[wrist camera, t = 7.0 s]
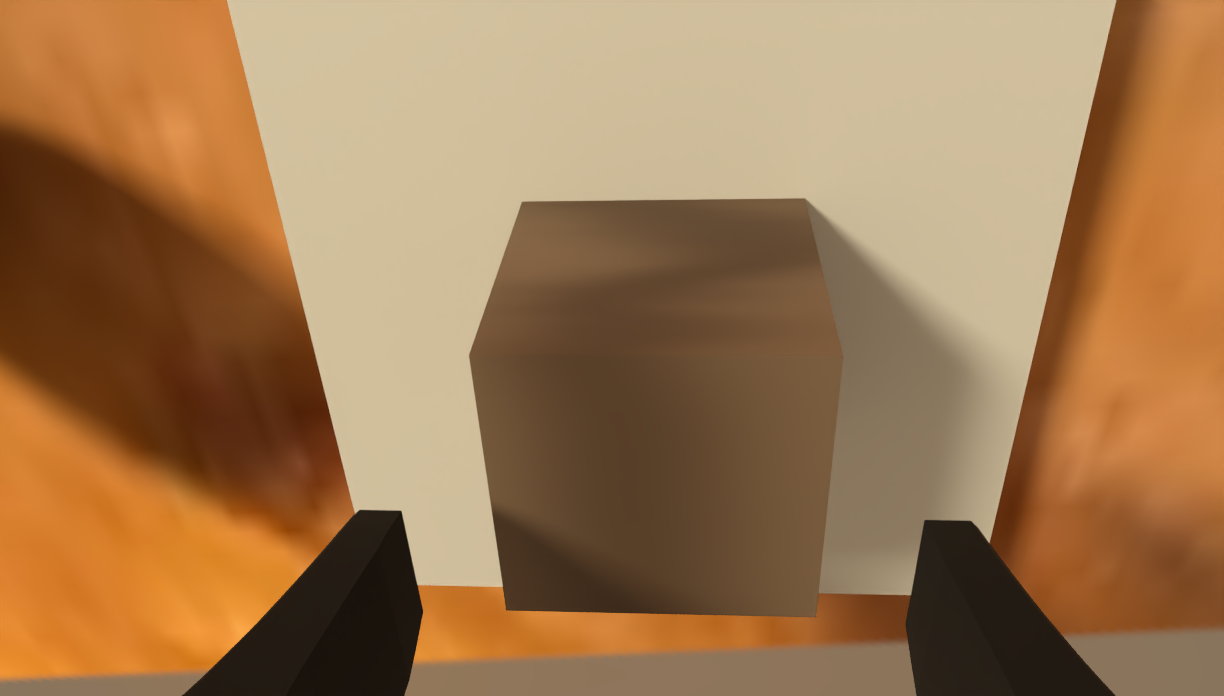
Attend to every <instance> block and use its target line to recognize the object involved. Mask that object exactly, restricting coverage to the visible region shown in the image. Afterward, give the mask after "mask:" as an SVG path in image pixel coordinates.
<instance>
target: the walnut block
mask: <svg viewBox="0 0 1224 696" xmlns="http://www.w3.org/2000/svg"><path fill="white" fill-rule="evenodd" d="M469 360H470V366H471V373H472V380H473V387H474V394H475V400H476V407H477V414H478V421H479V428H480V434H481V441H482V448H483V455H484V462H485V468H486V475H487V482H488V489H489V496H490V502H491V509H492V516H493V523H494V530H495V536H496V543H497V550H498V557H499V564H500V570H501V577H502V584H503V591H504V598H505V604H506V610H513V611H558V612H604V613H649V614H694V615H739V616H785V617H816V612H817V602H818V593H819V583H820V574H821V564H822V555H823V545H824V536H825V526H826V516H827V507H828V497H829V488H830V478H831V469H832V459H833V450H834V440H835V431H836V421H837V411H838V402H839V392H840V383H841V373H842V364H843V352H842V348H841V344H840V340H839V336H838V332H837V328H836V323H835V319H834V315H833V311H832V307H831V303H830V299H829V295H828V291H827V287H826V282H825V278H824V274H823V270H822V266H821V262H820V258H819V254H818V250H817V245H816V241H815V237H814V233H813V229H812V225H811V221H810V217H809V213H808V209H807V204H806V200H805V198H785V199H699V200H613V201H526V202H522V203H521V206H520V209H519V212H518V215H517V218H516V220H515V223H514V226H513V229H512V232H511V235H510V238H509V241H508V244H507V246H506V249H505V252H504V255H503V258H502V261H501V264H500V267H499V270H498V273H497V275H496V278H495V281H494V284H493V287H492V290H491V293H490V296H489V299H488V301H487V304H486V307H485V310H484V313H483V316H482V319H481V322H480V325H479V327H478V330H477V333H476V336H475V339H474V342H473V345H472V348H471V351H470V353H469Z"/></svg>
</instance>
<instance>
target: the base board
mask: <svg viewBox="0 0 1224 696" xmlns="http://www.w3.org/2000/svg"><path fill="white" fill-rule="evenodd" d="M227 2H228V6H229V10H230V14H231V18H232V22H233V26H234V31H235V35H236V39H237V43H238V47H239V51H240V55H241V59H242V63H243V67H244V71H245V75H246V79H247V83H248V87H249V91H250V95H251V99H252V103H253V107H254V111H255V115H256V119H257V123H258V127H259V131H260V135H261V139H262V143H263V147H264V151H265V155H266V159H267V163H268V167H269V171H270V175H271V179H272V183H273V187H274V191H275V195H276V199H277V203H278V207H279V211H280V215H281V219H282V223H283V227H284V231H285V235H286V239H287V243H288V247H289V251H290V255H291V259H292V263H293V267H294V271H295V275H296V279H297V283H298V287H299V291H300V295H301V299H302V303H303V307H304V311H305V315H306V319H307V323H308V327H309V331H310V335H311V339H312V343H313V347H314V351H315V355H316V359H317V364H318V368H319V372H320V376H321V380H322V384H323V388H324V392H325V396H326V400H327V404H328V408H329V412H330V416H331V420H332V424H333V428H334V432H335V436H336V440H337V444H338V448H339V452H340V456H341V460H342V464H343V468H344V472H345V476H346V480H347V484H348V488H349V492H350V496H351V500H352V504H353V508H354V512H355V514H356V513H357V512H358V511H359V510H398V511H402V515H403V520H404V525H405V530H406V534H407V539H408V544H409V548H410V553H411V558H412V562H413V567H414V572H415V576H416V581H417V585H441V586H489V587H503V584H502V577H501V570H500V564H499V557H498V550H497V543H496V536H495V530H494V523H493V516H492V509H491V502H490V496H489V489H488V482H487V475H486V468H485V462H484V455H483V448H482V441H481V434H480V428H479V421H478V414H477V407H476V400H475V394H474V387H473V380H472V373H471V366H470V360H469V353H470V351H471V348H472V345H473V342H474V339H475V336H476V333H477V330H478V327H479V325H480V322H481V319H482V316H483V313H484V310H485V307H486V304H487V301H488V299H489V296H490V293H491V290H492V287H493V284H494V281H495V278H496V275H497V273H498V270H499V267H500V264H501V261H502V258H503V255H504V252H505V249H506V246H507V244H508V241H509V238H510V235H511V232H512V229H513V226H514V223H515V220H516V218H517V215H518V212H519V209H520V206H521V203H522V202H526V201H613V200H699V199H785V198H805V200H806V204H807V209H808V213H809V217H810V221H811V225H812V229H813V233H814V237H815V241H816V245H817V250H818V254H819V258H820V262H821V266H822V270H823V274H824V278H825V282H826V287H827V291H828V295H829V299H830V303H831V307H832V311H833V315H834V319H835V323H836V328H837V332H838V336H839V340H840V344H841V348H842V352H843V364H842V373H841V383H840V392H839V402H838V411H837V421H836V431H835V440H834V450H833V459H832V469H831V478H830V488H829V497H828V507H827V516H826V526H825V536H824V545H823V555H822V564H821V574H820V583H819V593H826V594H874V595H911V592H912V586H913V581H914V575H915V570H916V564H917V559H918V553H919V548H920V542H921V537H922V531H923V525H924V520H961V521H972V522H973V523H974V524H975V525H976V526H977V527H978V528H979V530H980V531H981V532H982V534H983V535H984V537H985V538H986V539H987V541H988V542H989V543H990V539H991V535H992V530H993V526H994V522H995V518H996V513H997V509H998V505H999V500H1000V496H1001V492H1002V488H1003V483H1004V479H1005V475H1006V470H1007V466H1008V462H1009V458H1010V453H1011V449H1012V445H1013V441H1014V436H1015V432H1016V428H1017V423H1018V419H1019V415H1020V411H1021V406H1022V402H1023V398H1024V393H1025V389H1026V385H1027V381H1028V376H1029V372H1030V368H1031V363H1032V359H1033V355H1034V351H1035V346H1036V342H1037V338H1038V333H1039V329H1040V325H1041V321H1042V316H1043V312H1044V308H1045V303H1046V299H1047V295H1048V291H1049V286H1050V282H1051V278H1052V274H1053V269H1054V265H1055V261H1056V256H1057V252H1058V248H1059V244H1060V239H1061V235H1062V231H1063V226H1064V222H1065V218H1066V214H1067V209H1068V205H1069V201H1070V196H1071V192H1072V188H1073V184H1074V179H1075V175H1076V171H1077V166H1078V162H1079V158H1080V154H1081V149H1082V145H1083V141H1084V137H1085V132H1086V128H1087V124H1088V119H1089V115H1090V111H1091V107H1092V102H1093V98H1094V94H1095V89H1096V85H1097V81H1098V77H1099V72H1100V68H1101V64H1102V59H1103V55H1104V51H1105V47H1106V42H1107V38H1108V34H1109V29H1110V25H1111V21H1112V17H1113V12H1114V8H1115V4H1116V0H227Z"/></svg>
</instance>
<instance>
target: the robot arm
mask: <svg viewBox="0 0 1224 696" xmlns="http://www.w3.org/2000/svg"><path fill="white" fill-rule="evenodd" d="M422 614H423V609H422V604H421V600H420V595H419V590H418V586H417V581H416V576H415V572H414V567H413V562H412V558H411V553H410V548H409V544H408V539H407V534H406V530H405V525H404V520H403V515H402V511H398V510H359V511H358V512H357V513H356V514H355V515H353V517H352V518H351V519H350V520H349V521H348V522H347V523H346V524H345V526H344V527H343V528H342V529H341V530H340V531H339V532H338V534H337V535H336V536H335V537H334V538H333V539H332V541H331V542H330V543H329V544H328V545H327V546H326V548H325V549H324V550H323V551H322V552H321V553H320V554H319V556H318V557H317V558H316V559H315V560H314V561H313V562H312V564H311V565H310V566H309V567H308V568H307V569H306V570H305V571H304V573H303V574H302V575H301V576H300V577H299V578H298V579H297V580H296V582H295V583H294V584H293V585H292V586H291V587H290V588H289V589H288V590H287V591H286V592H285V594H284V595H283V596H282V597H281V598H280V599H279V600H278V601H277V602H276V603H275V604H274V605H273V607H272V608H271V609H270V610H269V611H268V612H267V613H266V614H265V615H264V616H263V617H262V618H261V619H260V621H259V622H258V623H257V624H256V625H255V626H254V627H253V628H252V629H251V630H250V631H249V632H248V633H247V634H246V635H245V636H244V637H243V638H242V639H241V640H240V641H239V642H238V643H237V644H236V645H235V646H234V647H233V648H232V649H231V650H230V651H229V652H228V653H227V654H226V655H225V656H224V657H223V658H222V659H221V660H220V661H219V662H218V663H217V664H215V665H214V666H213V667H212V668H211V669H210V670H209V671H208V672H207V673H206V674H205V675H204V676H203V677H202V678H201V679H200V680H199V681H198V682H197V683H195V684H194V685H193V686H192V687H191V688H190V689H189V690H188V691H187V692H186V693H185V694H183V695H182V696H404V694H405V691H406V688H407V685H408V682H409V678H410V673H411V669H412V664H413V660H414V655H415V651H416V646H417V640H418V635H419V630H420V625H421V619H422ZM906 630H907V637H908V644H909V650H910V657H911V663H912V670H913V676H914V682H915V688H916V694H917V696H1115V695H1114V694H1113V692H1112V691H1111V690H1110V689H1109V688H1108V687H1107V686H1106V685H1105V684H1104V683H1103V682H1102V681H1101V680H1100V679H1099V677H1098V676H1097V675H1096V674H1095V673H1094V672H1093V671H1092V670H1091V668H1090V667H1089V666H1088V665H1087V664H1086V663H1085V662H1084V661H1083V659H1082V658H1081V657H1080V656H1079V655H1078V654H1077V653H1076V651H1075V650H1074V649H1073V648H1072V647H1071V645H1070V644H1069V643H1068V642H1067V641H1066V640H1065V638H1064V637H1063V636H1062V635H1061V634H1060V632H1059V631H1058V630H1057V629H1056V628H1055V627H1054V625H1053V624H1052V623H1051V622H1050V621H1049V619H1048V618H1047V617H1046V616H1045V615H1044V613H1043V612H1042V611H1041V610H1040V608H1039V607H1038V606H1037V605H1036V603H1035V602H1034V601H1033V600H1032V598H1031V597H1030V596H1029V595H1028V593H1027V592H1026V591H1025V589H1024V588H1023V587H1022V586H1021V584H1020V583H1019V582H1018V580H1017V579H1016V578H1015V577H1014V575H1013V574H1012V573H1011V571H1010V570H1009V569H1008V567H1007V566H1006V565H1005V563H1004V562H1003V561H1002V559H1001V558H1000V557H999V555H998V554H997V553H996V551H995V550H994V549H993V547H992V546H991V545H990V543H989V542H988V541H987V539H986V538H985V537H984V535H983V534H982V532H981V531H980V530H979V528H978V527H977V526H976V525H975V524H974V523H973V522H972V521H961V520H924V525H923V531H922V537H921V542H920V548H919V553H918V559H917V564H916V570H915V575H914V581H913V586H912V592H911V598H910V603H909V609H908V614H907V620H906Z"/></svg>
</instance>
